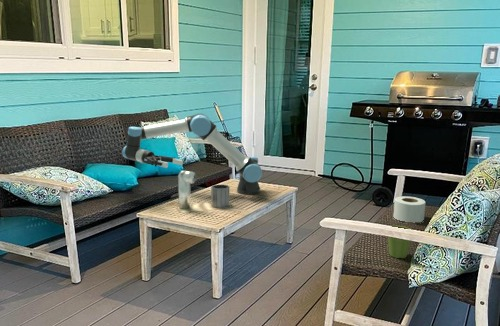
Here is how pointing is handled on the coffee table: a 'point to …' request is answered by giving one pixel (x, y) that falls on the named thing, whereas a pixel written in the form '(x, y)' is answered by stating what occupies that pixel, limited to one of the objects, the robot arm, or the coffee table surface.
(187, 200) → the polished capsule rod
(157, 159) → the robot arm
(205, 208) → the birch board
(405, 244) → the plant pot
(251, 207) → the coffee table surface
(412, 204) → the toilet paper roll
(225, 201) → the grey wooden bucket
